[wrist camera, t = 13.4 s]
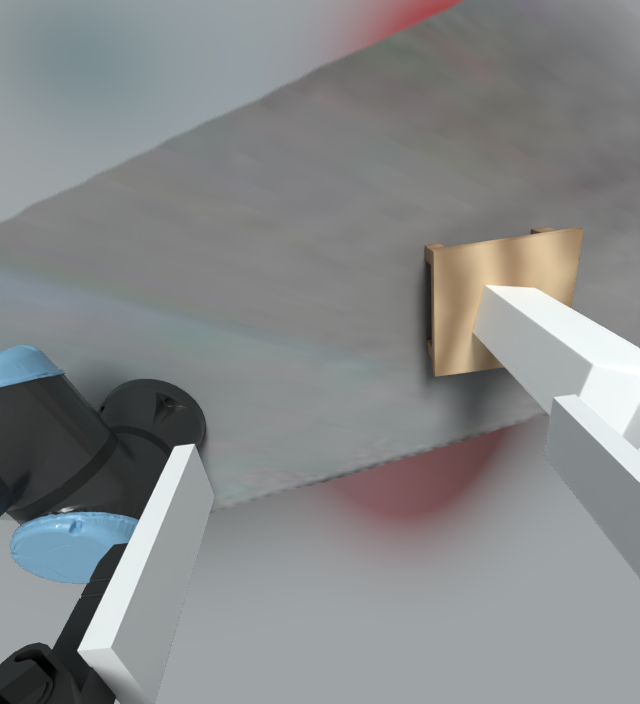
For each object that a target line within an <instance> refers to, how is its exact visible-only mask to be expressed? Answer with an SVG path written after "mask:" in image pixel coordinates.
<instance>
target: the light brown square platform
mask: <svg viewBox="0 0 640 704" xmlns="http://www.w3.org/2000/svg"><path fill="white" fill-rule="evenodd" d="M583 231H584V229H580V228H571V229H564V230H555V229H551V228H548V227H544V228H537V229H532V230H531V235H525V236H518V237H511V238H505V239H498V240H491V241H485V242H478V243H471V244H465V245H458V246H452V247H444V246H443V245H441V244H440V243H438V244H431V245H425V260H426V261H427V262H428V263H429V264H430V265H431V305H432V339H427V352H428V353H429V355H430V357H431V358H432V372H433V374H434V376H435V377H437V376H445V375H452V374H460V373H467V372H475V371H482V370H489V369H497V368H504V366H503V365H502V364H501V363H500V361H499V360H498V359H497V358H496V357H495V356H494V355H493V354H492V353H491V352H490V351H489V350H488V349H487V347H486V346H485V345H484V344H483V343H482V342H481V341H480V340H479V339H478V338H477V337H476V336H475V334H474V333H473V328H474V324H475V320H476V317H477V313H478V309H479V306H480V302H481V298H482V294H483V291H484V287H485V285H496V286H513V287H530V288H536V289H538V290H540V291H542V292H543V293H545V294H547V295H548V296H550V297H552V298H554V299H555V300H557V301H559V302H561V303H562V304H564V305H566V306H568V307H569V308H571V305H572V299H573V293H574V286H575V280H576V274H577V268H578V262H579V256H580V250H581V243H582V237H583Z"/></svg>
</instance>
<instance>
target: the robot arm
mask: <svg viewBox="0 0 640 704" xmlns="http://www.w3.org/2000/svg"><path fill="white" fill-rule="evenodd" d="M64 374H65V372H64V371H63V370H59V369H58V368H57V367H56V366H55V365H54V364H53V363H52V362H51V361H50V359H49V358H48V357H47V356H46V355H45V354H44V353H43V352H42V351H41V350H39V349H38V348H36V347H34V346H30V345H17V346H14V347H11V348H8V349H6V350H3V351H1V352H0V516H1V515H3V514H4V513H5V512H6V513H8V514H9V515H10V516H11V517H12V518H13V519H14V520H15V521H17V522H18V523H19V524H20V527H18V528H17V529H16V530H15V532H14V533H13V536H12V540H11V542H10V550H11V556H12V558H13V559H14V560H15V562H16V563H17V564H18V565H19V566H20V567H22V568H23V569H25V570H26V571H28V572H30V573H32V574H34V575H36V576H39V577H41V578H45V579H48V580H52V581H56V582H62V583H73V584H87V585H86V587H85V589H84V591H83V593H82V594H81V595H82V597H81V599H79V600H78V602H77V604H76V606H75V608H74V610H73V611H72V613H71V615H70V617H69V619H68V621H67V623H66V625H65V627H64V628H63V631H62V633H61V634H60V636H59V638H58V640H57V642H56V644H55V646H54V647H53V649H52V650H51V649H50V647H49V646H48V645H46V644H42V643H34V644H30V645H27V646H25V647H23V648H21V649H20V650H18V651H16V652H14V653H13V654H12V655H11V656H9V657H8V658H7V659H6V660H5V661H4V662H2V663H1V664H0V704H114V702H115V699H117V700H118V701H119V702H120V704H155V701H156V697H157V694H158V691H159V687H160V684H161V680H162V677H163V673H164V670H165V667H166V663H167V659H168V656H169V653H170V649H171V646H172V642H173V639H174V635H175V632H176V628H177V625H178V621H179V618H180V614H181V611H182V608H183V604H184V601H185V597H186V594H187V590H188V587H189V583H190V580H191V576H192V573H193V569H194V566H195V563H196V559H197V556H198V552H199V549H200V545H201V542H202V538H203V535H204V531H205V528H206V524H207V521H208V517H209V514H210V510H211V507H212V504H213V500H214V497H215V496H214V493H213V491H212V488H211V485H210V483H209V480H208V477H207V475H206V472H205V470H204V467H203V464H202V462H201V459H200V456H199V454H198V451H197V450H198V448H199V446H200V444H201V441H202V439H203V436H204V433H205V419H204V416H203V413H202V411H201V409H200V407H199V406H198V404H197V403H196V402H195V400H194V399H193V398H192V397H191V396H190V395H188V394H187V393H186V392H185V391H183V390H182V389H180V388H178V387H176V386H174V385H172V384H170V383H167V382H163V381H159V380H154V379H138V380H132V381H129V382H126V383H124V384H122V385H120V386H118V387H117V388H115V389H114V390H113V391H112V392H111V393H110V394H109V396H108V397H107V398H106V399H105V400H104V402H103V403H102V405H101V407H100V409H99V411H98V413H97V412H96V411H95V410H94V409H93V408H92V406H91V405H90V404H89V403H88V402H87V401H86V399H85V398H84V397H83V396H82V395H81V394H80V393H79V391H78V390H77V389H76V388H75V387H74V386H73V384H72V383H71V382H70V381H69V380H68V379H67V378H66V376H65V375H64ZM544 457H545V458H546V459H547V460H548V462H549V463H550V464H551V465H552V467H553V468H554V469H555V471H556V472H557V473H558V474H559V476H560V477H561V478H562V480H563V481H564V482H565V483H566V485H567V486H568V487H569V489H570V490H571V491H572V492H573V494H574V495H575V496H576V498H577V499H578V500H579V501H580V503H581V504H582V505H583V507H584V508H585V509H586V510H587V512H588V513H589V514H590V515H591V517H592V518H593V519H594V521H595V522H596V523H597V524H598V526H599V527H600V528H601V529H602V531H603V532H604V533H605V535H606V536H607V537H608V539H609V540H610V541H611V542H612V544H613V545H614V546H615V548H616V549H617V550H618V551H619V553H620V554H621V555H622V556H623V558H624V559H625V560H626V562H627V563H628V564H629V565H630V567H631V568H632V569H633V571H634V572H635V573H636V574H637V576H638V577H639V578H640V452H639V451H638V450H637V449H636V448H635V447H633V446H632V445H631V444H630V443H629V442H628V441H627V440H626V439H625V438H623V437H622V436H621V435H620V434H619V433H618V432H617V431H616V430H614V429H613V428H612V427H611V426H610V425H609V424H608V423H607V422H606V421H604V420H603V419H602V418H601V417H600V416H599V415H598V414H597V413H595V412H594V411H593V410H592V409H591V408H590V407H589V406H588V405H587V404H585V403H584V402H583V401H582V400H581V399H580V398H579V397H578V396H576V395H575V394H574V395H566V396H559V397H553V402H552V408H551V414H550V421H549V427H548V433H547V440H546V447H545V453H544Z"/></svg>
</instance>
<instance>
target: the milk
mask: <svg viewBox="0 0 640 704" xmlns="http://www.w3.org/2000/svg"><path fill="white" fill-rule="evenodd" d="M473 333H474V334H475V336H476V337H477V338H478V339H479V340H480V341H481V342H482V343H483V344H484V345H485V346H486V347H487V349H488V350H489V351H490V352H491V353H492V354H493V355H494V356H495V357H496V358H497V359H498V360H499V361H500V363H501V364H502V365H503V366H504V367H505V368H506V369H507V370H508V371H509V372H510V373H511V374H512V376H513V377H514V378H515V379H516V380H517V381H518V382H519V383H520V384H521V385H522V386H523V387H524V389H525V390H526V391H527V392H528V393H529V394H530V395H531V396H532V397H533V398H534V399H535V400H536V401H537V403H538V404H539V405H540V406H541V407H542V408H543V409H544V410H545V411H546V412H547V413H548V414H549V416H550V414H551V408H552V402H553V397H559V396H566V395H574V394H575V395H576V396H578V397H579V398H580V399H581V400H582V401H583V402H584V403H585V404H587V405H588V406H589V407H590V408H591V409H592V410H593V411H594V412H595V413H597V414H598V415H599V416H600V417H601V418H602V419H603V420H604V421H606V422H607V423H608V424H609V425H610V426H611V427H612V428H613V429H614V430H616V431H617V432H618V433H619V434H620V435H621V436H622V437H623V438H625V439H626V440H627V441H628V442H629V443H630V444H631V445H632V446H633V447H635V448H636V449H637V450H638V451H640V348H638V347H637V346H635V345H633V344H631V343H630V342H628V341H626V340H625V339H623V338H621V337H619V336H618V335H616V334H614V333H612V332H611V331H609V330H607V329H606V328H604V327H602V326H600V325H599V324H597V323H595V322H593V321H592V320H590V319H588V318H587V317H585V316H583V315H581V314H580V313H578V312H576V311H574V310H573V309H571V308H569V307H568V306H566V305H564V304H562V303H561V302H559V301H557V300H555V299H554V298H552V297H550V296H548V295H547V294H545V293H543V292H542V291H540V290H538V289H536V288H530V287H513V286H496V285H485V287H484V291H483V294H482V298H481V302H480V306H479V309H478V313H477V317H476V320H475V324H474V328H473Z"/></svg>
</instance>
